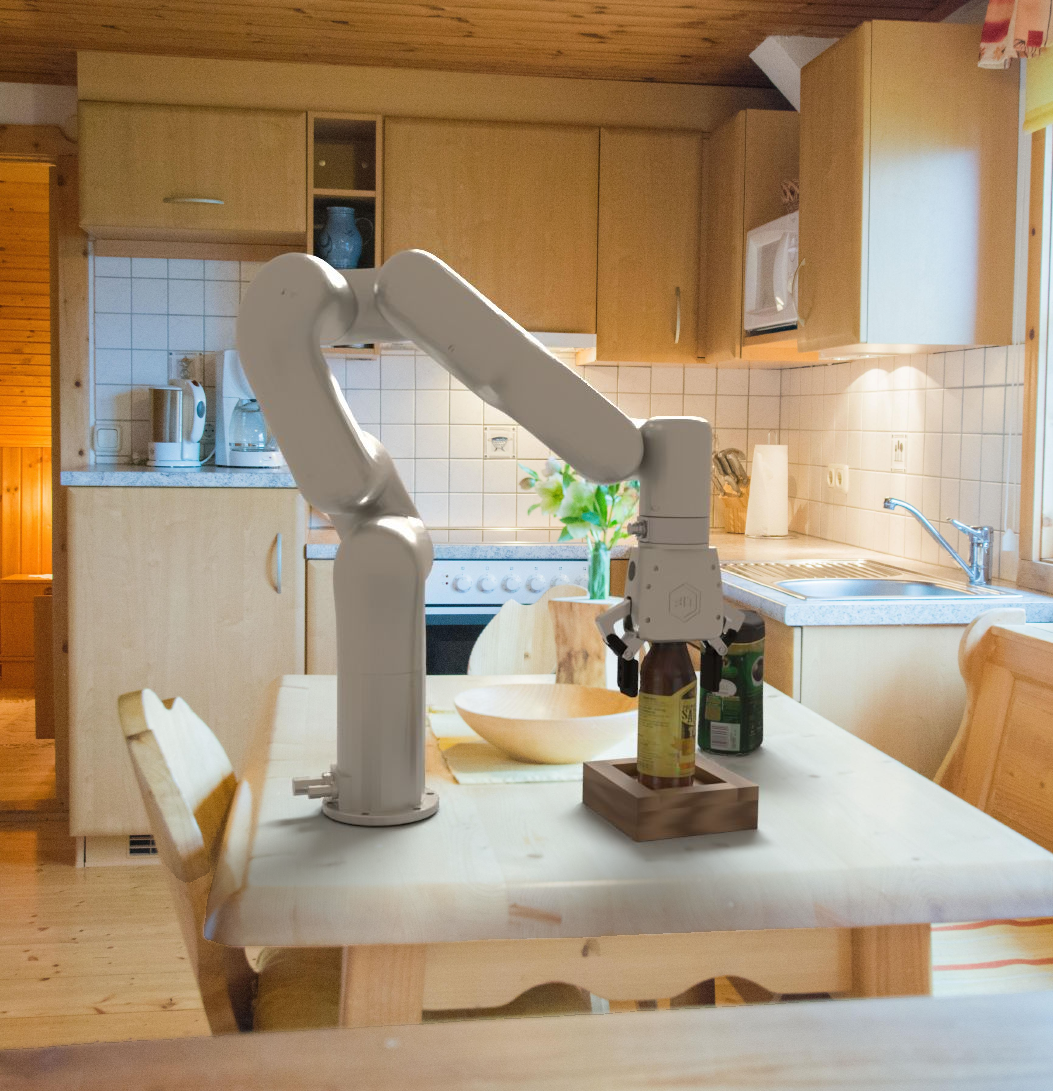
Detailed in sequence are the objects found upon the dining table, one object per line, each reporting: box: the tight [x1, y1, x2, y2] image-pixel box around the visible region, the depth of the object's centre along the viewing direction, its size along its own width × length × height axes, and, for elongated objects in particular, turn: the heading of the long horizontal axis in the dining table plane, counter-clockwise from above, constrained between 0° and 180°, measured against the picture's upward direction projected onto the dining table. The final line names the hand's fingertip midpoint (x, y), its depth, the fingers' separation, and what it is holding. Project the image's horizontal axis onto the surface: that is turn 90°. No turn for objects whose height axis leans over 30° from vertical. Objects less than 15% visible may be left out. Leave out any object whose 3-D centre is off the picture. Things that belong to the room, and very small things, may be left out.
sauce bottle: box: [636, 641, 698, 790], centre depth 122 cm, size 7×6×20 cm
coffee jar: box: [696, 608, 766, 756], centre depth 151 cm, size 10×8×19 cm
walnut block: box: [581, 752, 760, 843], centre depth 123 cm, size 14×14×4 cm
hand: (669, 692), depth 122 cm, fingers open, 9 cm apart
